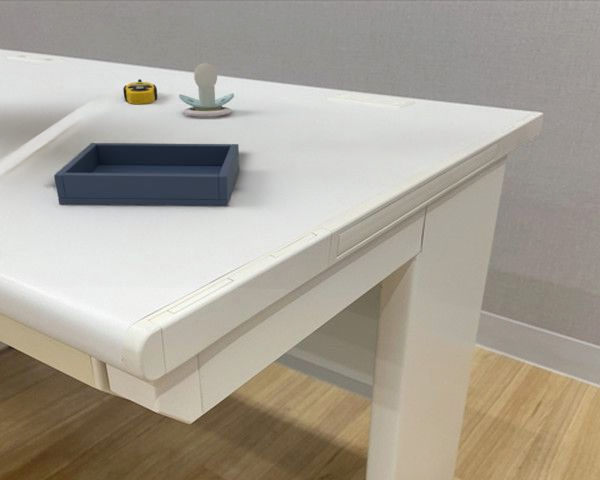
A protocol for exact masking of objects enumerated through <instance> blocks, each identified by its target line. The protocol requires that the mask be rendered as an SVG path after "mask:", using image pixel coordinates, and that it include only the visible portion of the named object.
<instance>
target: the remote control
mask: <svg viewBox="0 0 600 480" xmlns="http://www.w3.org/2000/svg"><path fill="white" fill-rule="evenodd" d="M122 89H123V90H122V91H123V97H124V101H126V103H127V102H128V103H130V104H132V105H147V104H152V103H153V102H155V101H157V100H158V89H157V85H155V84H154V83H153V84H152V83H151V82H148V81H143V80H142V79H141V78H139V79H138V80H137V82H129V83H128V84H125V85H124V86H123V88H122Z"/></svg>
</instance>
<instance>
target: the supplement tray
mask: <svg viewBox="0 0 600 480" xmlns="http://www.w3.org/2000/svg"><path fill="white" fill-rule="evenodd" d="M239 148H240V147H239V143H153V142H152V143H151V142H149V143H146V142H145V143H143V142H142V143H141V142H140V143H139V142H90V143H89V144H88V145H87V146H86V147H85V148H83V150H81V151H80V152H79V153H78V154H76V156H74V157H73V158H72V159H71V160H70V161H68V163H66V164H65V165H64V166H63V167H61V169H59V170H58V171H57V172H56V173H55V174H54V175H53V178H54V182H55V188H56V194H57V198H58V199H57V200H58V205H69V206H70V205H71V206H72V205H75V206H76V205H78V206H79V205H81V206H82V205H83V206H84V205H85V206H86V205H87V206H172V207H173V206H175V207H176V206H182V207H183V206H185V207H187V206H188V207H228V206H229V203H230V202H231V201H230V200H231V197H232V195H233V191H234V188H235V185H236V181H237V179H238V176H239V173H240V149H239Z"/></svg>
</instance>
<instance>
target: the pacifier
mask: <svg viewBox="0 0 600 480" xmlns="http://www.w3.org/2000/svg"><path fill="white" fill-rule="evenodd" d="M193 77H194V78H193V79H194V83H195V84H196V86H197V87H198V99H197V98H194V97H190V96H188V95H185V94H180V93H179V94H178V97H179V99H180V100H181V101H182V102H183V103H185V104H186V105H189V106H191V107H187V108H185V109H183V110H182V112H183V114H185V115H187V116H191V117H219V116H224V115H229V114H231V113H232V112H233V110H232V109H231V108H229V107H226V106H224V105H226V104H228V103H230V101H232V100H233V99H234V98H235V93H230V94H226V95H224V96H222V97H219V98H216V91H215V85H216V84H217V82H218V73H217V71H216V69H215V67H214V66H213V65H212V64H210V63H206V62H203V63H200V64H198V65H197V67H196V68H195V70H194V74H193Z"/></svg>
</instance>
